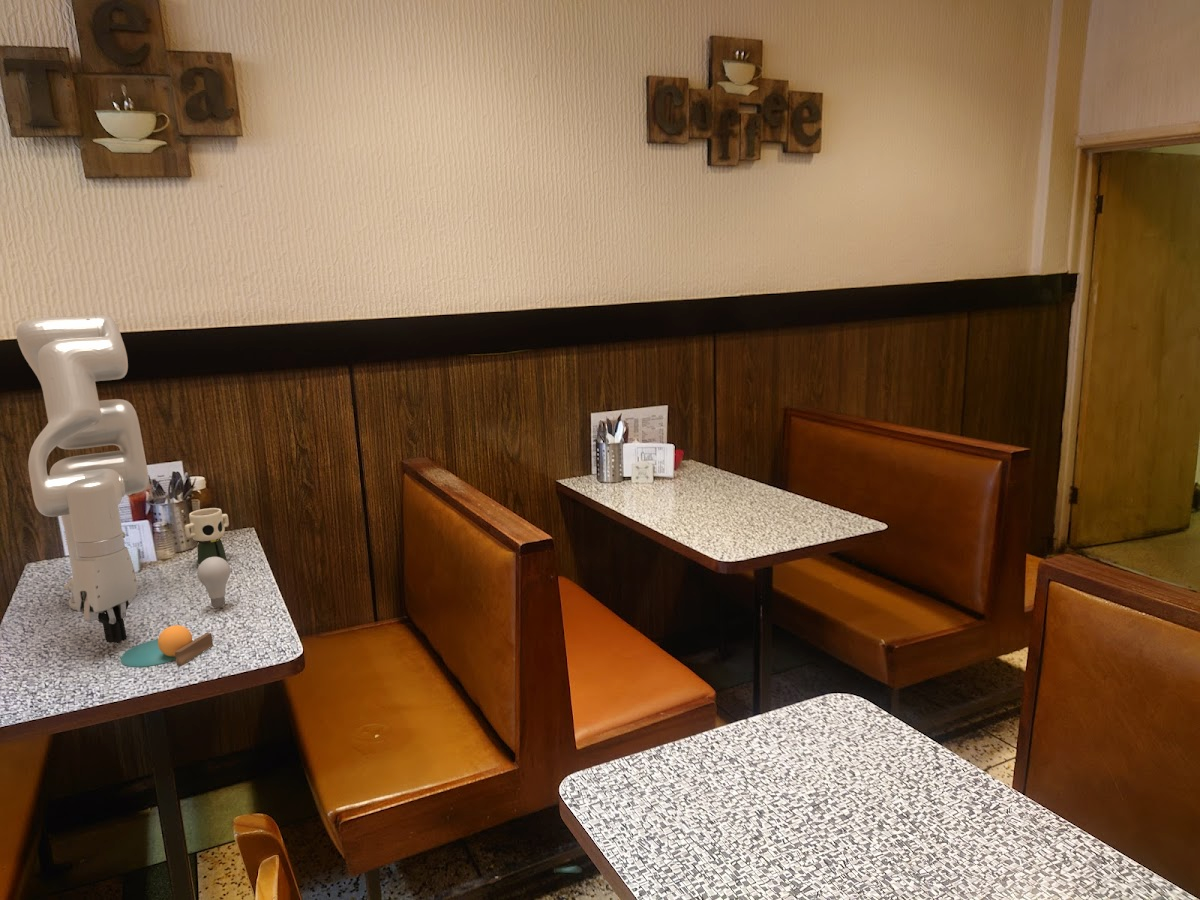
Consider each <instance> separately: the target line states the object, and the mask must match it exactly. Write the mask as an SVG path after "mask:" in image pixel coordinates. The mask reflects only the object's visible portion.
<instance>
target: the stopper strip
mask: <svg viewBox="0 0 1200 900" xmlns="http://www.w3.org/2000/svg"><path fill="white" fill-rule="evenodd" d="M212 636H213V635H212V633H211V632H206V633H204V634H202V635H200V636H199V637H197V638H195V639H194V640H193V641H192V642H190V643H189V644H187V645H185V646H184V647H182V648H180V649H179V650H177V651H175V656H176V660H175V663H176V665H177V666H181V665H182V666H184V665H185V664H186V663H188V662H190V661H192V660H193V659H195V658H196V657H197V655H198V656H200V655H201V654H202V653H201V652H203V651H204V652H206V651H207V650H209V649H210V648H212V647H213V646H214V643H213V637H212ZM212 645H213V646H212ZM211 646H212V647H211ZM209 647H210V648H209ZM208 648H209V649H208ZM206 649H207V650H206ZM205 650H206V651H205ZM204 652H203V653H204ZM200 653H201V654H200ZM194 657H195V658H194ZM189 660H190V661H189Z"/></svg>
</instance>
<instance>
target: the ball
mask: <svg viewBox="0 0 1200 900" xmlns="http://www.w3.org/2000/svg"><path fill="white" fill-rule="evenodd" d="M157 639H158V646H159V649H160V651H161V652H162V653H163V654H165V655H167V656H171V657H176V656H175V651H177V650H179V649H180V648H182V647H184V646H185V645H187V644H189V643H190V642H192V640H193V636H192V633H191V631H190V630H189V629H188V628H187V627H185V626H183V625H181V624H175V625H170V626H168V627H166V628H164V629H163V630H162V632H161V633H160V634H159V636H158V638H157Z"/></svg>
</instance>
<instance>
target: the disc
mask: <svg viewBox="0 0 1200 900" xmlns="http://www.w3.org/2000/svg"><path fill="white" fill-rule="evenodd" d="M192 641H194V640H193V639H192ZM175 659H176V657H171V656H167V655H165V654H163V653H162V652H161V651H160V649H159V646H158V638H156V639H152V640H149V641H145V642H142V643H140V644H137V645H135V646H133V647H131V648H130V649H127V650H126V651H124V653H123V654H122V655H121V657H120V662H121V664H122V665H124V666H126V667H131V668H146V667H153V666H158V665H162V664H166V663H169V662H173V661H176V660H175ZM172 660H173V661H172Z"/></svg>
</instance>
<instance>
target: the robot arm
mask: <svg viewBox="0 0 1200 900" xmlns="http://www.w3.org/2000/svg"><path fill="white" fill-rule="evenodd" d="M15 335H16V341H17V342H18V343H17V344H18V346H19V349H20V351H21V353H22V356H23V357H24V360H26V362H27V363H28V366H29V367H30V368H31V369H32V371H33V373H34V374H35V376H36V377H37V379H38V381H39V384H40V386H41V390H42V395H43V401H44V405H45V411H46V417H47V422H48V423H47V424H46V425H45V426H44V428H43V429H42V430H41V431H40V433H39V434H38V436H37V437H36V439H34V442H33V444H32V445H31V448H30V452H29V456H28V462H27V463H28V464H27V465H28V474H29V480H30V486H31V492H32V493H31V494H32V497H33V502H34V506H35V507H36V509H37V511H38V512H39V513H40V514H41V515H43V516H45V517H50V518H51V517H53V518H56V517H61V520H62V524H63V528H64V534H65V535H64V536H65V540H66V545H67V551H68V556H69V562H70V568H71V573H72V578H70V579H69V580H68V582H67V583H65V584H64V585H63V590H64V591H66V592H68V591H69V592H70V591H71V592H72V597H70V599H69V600H68V606H69V608H70V609H72V610H75V611H76V612H80V613H82V612H83V620H84V621H85V622H95V621H97V622H98V623H99V624H102V628H103V633H104V638H105V642H106V643H111V644H120V643H122V642H123V641H125V640H127V632H126V626H125V619H126V618H127V610H128V607H129V606H130V605H131V604H132V603H133V602H135V601H136V599H137V596H136V595H137V594H138V580H137V575H136V570H135V568H134V563H133V560H132V557H131V554H130V552H129V549H128V548H127V546H125V540H124V539H125V538H126V537H127V536H126V533H125V532H124V531H123V528H122V520H121V515H120V509H119V504H120V503H122V500H123V498H124V497H125V496H127V495H132V494H137V493H140V492H143V491H144V490H145V489H146V488H147V487H148V483H149V472H148V466H147V459H146V455H145V448H144V444H143V437H142V432H141V428H140V427H141V426H140V422H139V417H138V415H137V411H136V410H135V408H134V406H133V404H132V403H131V402H129V401H128V400H125V399H119V398H113V399H105V400H103V399H102V400H100V399H99V396H98V395H99V394H98V390H97V389H98V388H97V386H96V385H97V384H96V382H100V381H102V382H104V381H112V380H113V381H114V380H121V379H123V378H125V376H126V375H127V373H128V369H129V363H128V362H129V361H128V353H127V350H126V346H125V343H124V341H123V337H122V335H121V331H120V329H119V326H118V324H117V322H116V320H115V319H114V318H112V317H111V316H109V315H106V314H105V315H104V314H96V315H95V314H94V315H91V314H90V315H76V316H75V315H73V316H50V317H39V318H33V319H29V320H25V321H22V323H19V324H18V325H17V327H16V333H15ZM105 446H106V447H107V446H116V447H118V449H119V450H112V451H107V452H106V451H105V452H97V453H88V454H81V455H73V456H69V457H66V458H63V459H60V460H57V462H54V464H53V465H52V466H51V468H50V471H49V473H48V470H47V463H48V462H47V461H48V458H49V455H50V454H51V452H52V451H53V450H54V449H55V448H57V447H58V448H59V449H63V450H79V449H80V450H82V449H91V448H97V447H105Z"/></svg>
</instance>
